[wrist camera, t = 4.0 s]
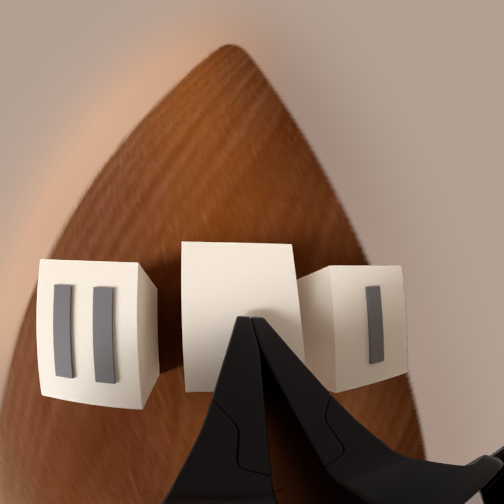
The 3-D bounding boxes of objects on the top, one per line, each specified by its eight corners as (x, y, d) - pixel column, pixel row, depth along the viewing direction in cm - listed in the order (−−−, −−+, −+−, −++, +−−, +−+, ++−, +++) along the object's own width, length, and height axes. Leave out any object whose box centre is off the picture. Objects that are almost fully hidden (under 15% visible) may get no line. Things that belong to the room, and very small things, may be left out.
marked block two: (159, 374, 14) (141, 410, 7) (95, 369, 13) (40, 395, 6) (157, 284, 15) (138, 254, 9) (94, 282, 14) (39, 251, 8)
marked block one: (333, 361, 17) (409, 372, 10) (276, 369, 16) (338, 393, 9) (329, 284, 18) (402, 259, 11) (273, 285, 17) (330, 258, 10)
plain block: (255, 372, 15) (306, 381, 8) (185, 376, 14) (185, 392, 7) (249, 289, 17) (291, 244, 10) (182, 289, 16) (181, 241, 9)
